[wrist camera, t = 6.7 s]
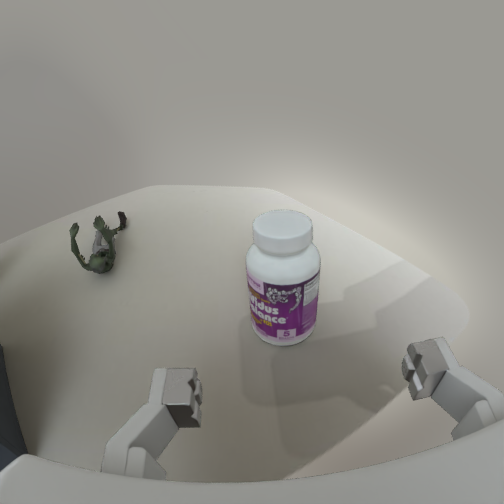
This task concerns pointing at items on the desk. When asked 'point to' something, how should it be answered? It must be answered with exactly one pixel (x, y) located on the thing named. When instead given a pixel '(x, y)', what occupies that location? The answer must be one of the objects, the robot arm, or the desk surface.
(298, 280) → the pill bottle
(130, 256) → the desk surface
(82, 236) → the desk surface
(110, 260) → the zombie figurine
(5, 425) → the bin
